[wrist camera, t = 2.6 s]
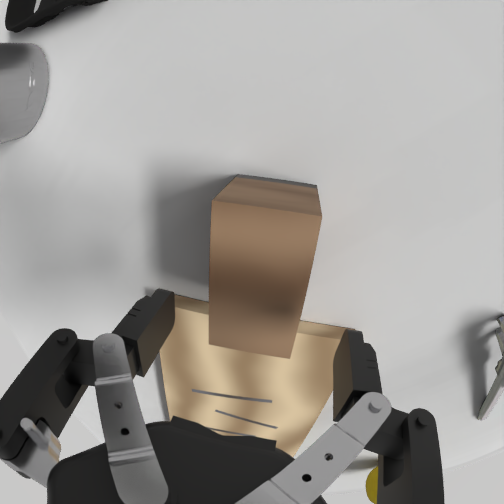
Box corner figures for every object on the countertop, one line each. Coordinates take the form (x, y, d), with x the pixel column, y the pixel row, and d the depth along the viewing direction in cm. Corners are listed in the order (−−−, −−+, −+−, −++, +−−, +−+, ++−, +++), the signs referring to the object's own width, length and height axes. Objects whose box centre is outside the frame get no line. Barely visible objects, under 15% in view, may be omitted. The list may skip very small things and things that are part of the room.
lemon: (402, 462, 33) (405, 504, 26) (369, 471, 35) (370, 512, 28) (397, 451, 31) (401, 498, 24) (361, 461, 33) (361, 507, 26)
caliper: (495, 314, 20) (523, 360, 15) (504, 310, 20) (532, 354, 14) (476, 417, 27) (487, 452, 22) (483, 414, 27) (494, 449, 21)
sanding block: (294, 301, 22) (289, 359, 17) (230, 291, 23) (208, 344, 18) (316, 184, 18) (322, 216, 13) (238, 173, 19) (211, 200, 14)
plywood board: (178, 440, 37) (175, 448, 36) (162, 291, 24) (154, 302, 23) (284, 462, 36) (283, 471, 34) (355, 329, 23) (357, 341, 21)
